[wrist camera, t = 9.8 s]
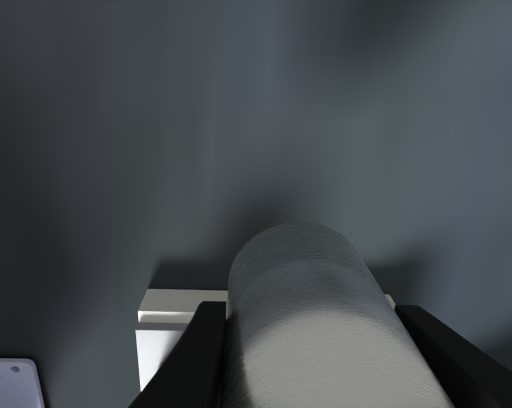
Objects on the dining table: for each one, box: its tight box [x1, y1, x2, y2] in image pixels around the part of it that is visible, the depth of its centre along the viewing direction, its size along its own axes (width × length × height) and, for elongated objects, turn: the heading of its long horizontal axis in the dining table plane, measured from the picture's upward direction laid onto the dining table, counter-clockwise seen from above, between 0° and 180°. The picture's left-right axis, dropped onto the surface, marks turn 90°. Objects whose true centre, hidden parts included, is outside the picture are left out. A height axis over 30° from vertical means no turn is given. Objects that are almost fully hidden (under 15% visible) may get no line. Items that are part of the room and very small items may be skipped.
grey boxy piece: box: [136, 289, 395, 391], centre depth 20 cm, size 14×9×5 cm, turn 87°
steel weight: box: [219, 222, 455, 408], centre depth 9 cm, size 4×4×6 cm
